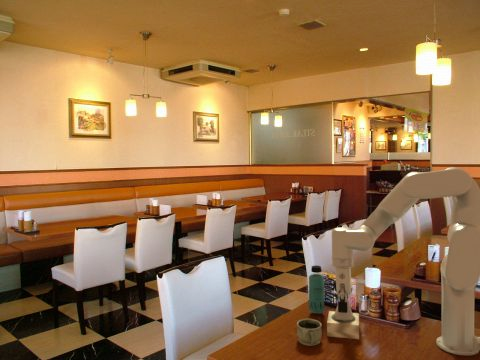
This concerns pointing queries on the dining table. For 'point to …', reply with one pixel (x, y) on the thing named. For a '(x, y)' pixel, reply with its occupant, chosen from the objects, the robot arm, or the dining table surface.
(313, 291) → the beverage bottle
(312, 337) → the vessel
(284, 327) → the dining table surface
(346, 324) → the pedestal
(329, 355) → the dining table surface
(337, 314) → the flask
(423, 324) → the dining table surface
